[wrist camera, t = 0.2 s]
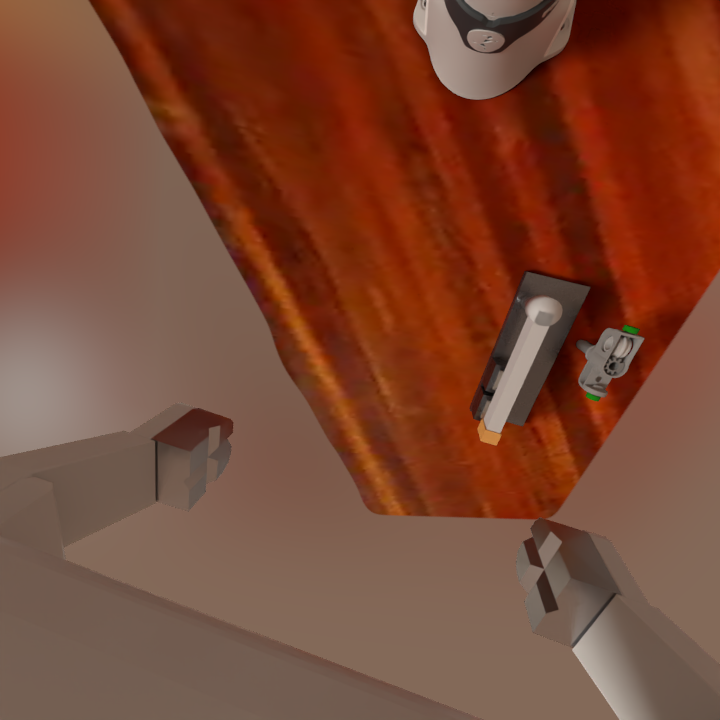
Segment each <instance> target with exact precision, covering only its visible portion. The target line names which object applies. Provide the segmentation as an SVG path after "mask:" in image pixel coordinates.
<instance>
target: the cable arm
mask: <svg viewBox="0 0 720 720" xmlns="http://www.w3.org/2000/svg"><path fill="white" fill-rule="evenodd" d="M562 311H563V310H562V306H561V304H560V303H559V302H558V301H557V300H555V299H553V298H551V297H549V296H546V295H537V296H534V297H532V298H531V299H530V300H529V301H528V302H527V304H526V307H525V312H526V315H527V316H528V317H527V319H526V322H525V324H524V326H523V329H522V331H521V333H520V336H519V338H518V340H517V343H516V345H515V347H514V350H513V352H512V354H511V357H510V359H509V361H508V364H507V366H506V368H505V371H504V373H503V375H502V377H501V380H500V382H499V384H498V387H497V389H496V391H495V394H494V396H493V398H492V401H491V403H490V405H489V408H488V410H487V412H486V415H485V417H484V419H482V420H481V422H480V424H479V427H478V433H479V437H480V440H481V441H483V442H486V443H490V444H493V445H496V446H497V443H498V441H499V439H500V437H501V430H502V428H503V426H504V424H505V422H506V419H507V417H508V415H509V413H510V411H511V409H512V406H513V404H514V402H515V400H516V398H517V396H518V393H519V391H520V389H521V387H522V385H523V383H524V380H525V378H526V376H527V374H528V372H529V370H530V367H531V365H532V363H533V361H534V359H535V357H536V354H537V352H538V350H539V348H540V346H541V344H542V341H543V339H544V337H545V335H546V333H547V331H548V328H549V326H550V325H553V324H555V323H556V322H557V321H558V320H559V319H560V318H561V316H562Z"/></svg>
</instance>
